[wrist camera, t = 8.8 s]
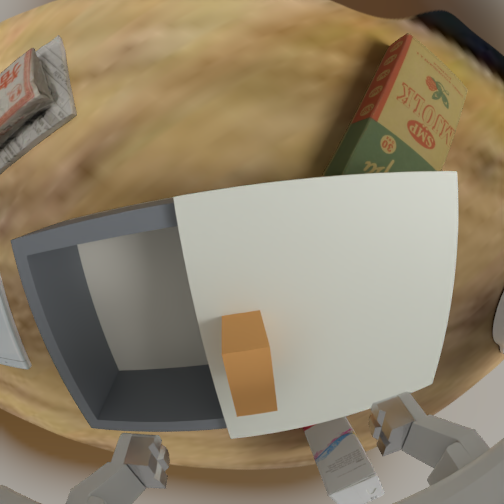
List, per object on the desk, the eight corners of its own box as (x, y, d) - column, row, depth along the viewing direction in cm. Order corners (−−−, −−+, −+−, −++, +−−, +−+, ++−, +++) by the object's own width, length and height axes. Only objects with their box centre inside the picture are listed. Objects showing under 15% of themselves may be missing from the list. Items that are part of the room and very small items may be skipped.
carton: (444, 96, 21) (471, 90, 17) (391, 226, 24) (417, 235, 20) (385, 45, 20) (409, 29, 15) (319, 179, 22) (338, 180, 18)
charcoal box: (248, 185, 22) (261, 189, 14) (270, 359, 26) (286, 419, 18) (66, 220, 21) (10, 240, 13) (115, 374, 25) (91, 428, 17)
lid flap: (449, 171, 15) (496, 174, 10) (427, 378, 19) (454, 408, 15) (176, 196, 14) (155, 203, 9) (230, 431, 18) (233, 476, 14)
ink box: (296, 413, 28) (323, 496, 17) (337, 393, 28) (376, 473, 17) (319, 445, 31) (343, 514, 19) (353, 429, 30) (386, 495, 19)
